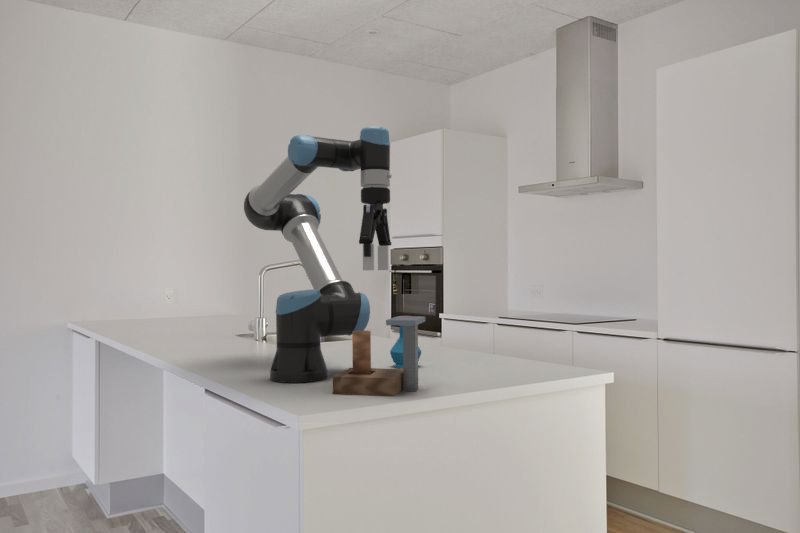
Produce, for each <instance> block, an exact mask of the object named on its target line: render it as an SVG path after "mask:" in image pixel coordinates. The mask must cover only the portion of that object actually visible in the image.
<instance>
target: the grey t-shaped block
mask: <svg viewBox="0 0 800 533" xmlns="http://www.w3.org/2000/svg"><path fill="white" fill-rule="evenodd" d="M425 322H426V316H421V315H419V316H412V315H398V316H393V317H391V318H389V319H385V325H386V326H400V325H403V368H402V369H403V390H402V391H403V392H417V391H418V390H419V361H418V347H419V332H418V330H419V325H420V324H423V323H425Z"/></svg>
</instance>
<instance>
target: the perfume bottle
mask: <svg viewBox="0 0 800 533" xmlns="http://www.w3.org/2000/svg"><path fill="white" fill-rule="evenodd" d="M389 354H390V357H391V359H392V362H393V363H394V368H395V369H403V325H399V337H398V338H397V340H396V341H395V343H394V345H393V346H392V347H391V349H390V352H389ZM421 355H422V349H421V348H420V347H419V346H418V362H419V361H420V360H419V359H420V358H421Z"/></svg>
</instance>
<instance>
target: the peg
mask: <svg viewBox="0 0 800 533" xmlns="http://www.w3.org/2000/svg"><path fill="white" fill-rule="evenodd" d="M351 336H352V337H351V338H352V342H351V343H352V345H351V346H352V368H353V374H361V375H370V374H371V368H372V361H371V360H372V358H371V357H372V356H371V355H372V352H371V351H372V350H371V348H372V347H371V346H372V344H371V343H372V342H371V341H372V340H371V339H372V338H371V336H372V335H371V330H364V331H352V335H351Z"/></svg>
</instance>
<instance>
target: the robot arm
mask: <svg viewBox="0 0 800 533" xmlns="http://www.w3.org/2000/svg"><path fill="white" fill-rule="evenodd" d="M289 141H290V142H289V144H288V146H287V157H286V158H285V159H283V161H282V162H281V163H280V164H279V165H278V166H277V167H276V168H275V169H274V171H272V172H271V174H269V176H268V177H266V178H265V180H264V181H263V182H262V183H261V184H260V185H256V186H254V187H253V188H252V189H251V190H250V191H249V192H248V193H247V194H246V196H245V198H244V202H243V211H244V214H245V217H246V218H247V220H248V221H249V222H250V224H252V226H254V227H256V228H258V229H259V230H260V229H261V230H263V231H276V232H277V231H279V232H281V234H282V236H283V238H284V239H285V240H286V242H290V243H291V244H292V246H293V248H294V250H295V252H296V254H297V256H298V258H299V260H300V263H301V265H302V267H303V269H304V271H305V273H306V276H307V277H308V280H309V282H310V285H311V286H312V288H313V289H304V290H294V291H289V292H286V293H282V294H280V295H279V296H278V297H277V299H276V306H275V320H276V321H275V322H276V326H275V327H276V329H275V330H276V331H275V332H276V333H275V334H276V351H275V354H274V357H273V360H272V364H271V367H270V370H269V374H270V375H269V376H270V378H269V379H270V380H271V381H274V382H277V383H308V382H310V383H311V382H316V381H322V380H325V379H327V378H328V368H327V364H326V362H325V359H324V358H325V357H324V355H323V352H322V349H321V338H323V337H338V336H352V331H365V329H366V328H367V326H368V324H369V320H370V317H371V315H370V314H371V306H370V305H371V304H370V301H369V298H368V297H367V295H366V294H365V293H363V292H362V293H361V292H355V289H354V288H353V286H352V284H351V283H350V282H348V281H347V280H343V278H342V276H341V275H340V274H341V273H340V271H339V270H338V268H337V266H336V265H335V263H334V260H333V259H332V256H331V254H330V252H329V251H328V248H327V247H326V245H325V243H324V241H323V238H322V236H321V234H320V233H319V231H318V229H319V227H320V224H321V218H322V217H321V216H322V214H321V213H320V212H321V208H320V206H319V203H318V202H317V200H316V199H315V198H314V197H312V196H311V195H308V194H307V195H306V194H302V193H296V194H294V193H292V192H293V191H294V190H296V188H298V186H300V185H301V184H302V183H303V182H304V181H305V180H306V179H307V178H308V177H309V176H310V175H311V174H312V173H314V171H316V170H317V169H318V168H328V169H329V168H330V169H338V170H340V171H342V172H354V171H357V170H360V186H361V187H362V188H361V189H360V202H361V203H362V204H363V206H362V207H363V210H362V211H363V212H362V218H361V227H360V232H359V239H358V243H359V245H362V271H375V244H374V243H373V242H374V238H375V234H376V237H377V241H378V245H377V271H388V270H389V246H392V241H391V236H390V229H389V227H390V226H389V221H388V209H387V208H384V205H385V204H389V203H390V202H391V190H390V188H389V187H390V185H391V184H390V182H391V181H390V179H392V178H393V176H392V174H390V165H391V164H390V163H391V162H390V160H391V159H390V158H391V157H390V156H391V152H390V150H391V143H390V132H389V130H388V129H387V128H385V127H384V126H365V127H363V128H362V129H361V130H360V135H359V139H357V140H343V139H336V138H335V139H334V138H328V137H327V138H326V137H319V136H318V137H317V136H313V135H307V134H306V135H302V134H301V135H299V134H298V135H294V136H292V137H291V139H290V140H289Z"/></svg>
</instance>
